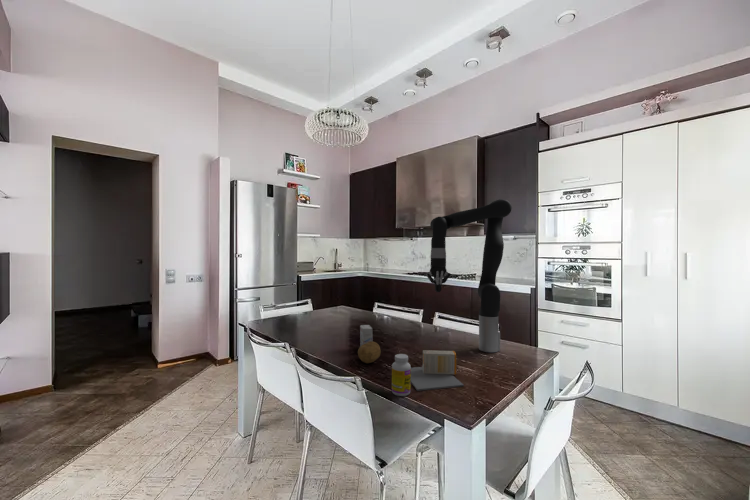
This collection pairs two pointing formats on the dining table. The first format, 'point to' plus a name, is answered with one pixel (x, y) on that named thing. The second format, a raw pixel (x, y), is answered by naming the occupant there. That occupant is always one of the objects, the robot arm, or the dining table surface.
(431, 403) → the dining table surface
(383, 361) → the dining table surface
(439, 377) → the rubber mat
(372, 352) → the potato
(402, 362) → the supplement bottle
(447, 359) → the supplement box
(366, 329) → the ink box
